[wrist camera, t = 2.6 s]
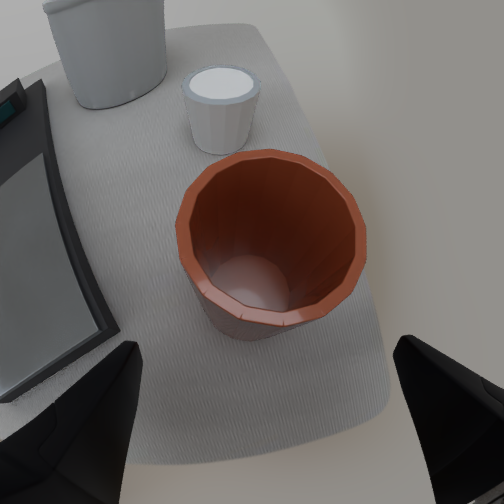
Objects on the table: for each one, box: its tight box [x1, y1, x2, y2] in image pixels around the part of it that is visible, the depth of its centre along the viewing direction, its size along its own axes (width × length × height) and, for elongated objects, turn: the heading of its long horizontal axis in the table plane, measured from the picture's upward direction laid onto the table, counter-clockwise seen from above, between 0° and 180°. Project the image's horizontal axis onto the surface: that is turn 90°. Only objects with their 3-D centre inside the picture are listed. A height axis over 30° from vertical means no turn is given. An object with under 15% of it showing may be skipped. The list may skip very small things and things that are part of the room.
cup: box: [175, 149, 366, 341], centre depth 15 cm, size 7×7×12 cm
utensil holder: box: [43, 0, 167, 109], centre depth 21 cm, size 15×15×18 cm
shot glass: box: [181, 65, 261, 155], centre depth 23 cm, size 7×7×7 cm
